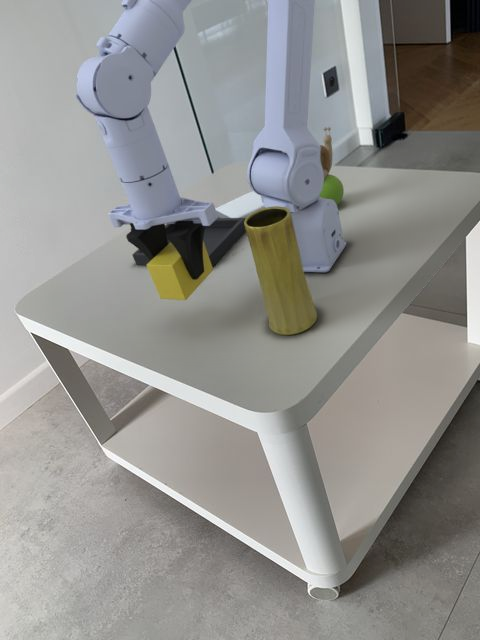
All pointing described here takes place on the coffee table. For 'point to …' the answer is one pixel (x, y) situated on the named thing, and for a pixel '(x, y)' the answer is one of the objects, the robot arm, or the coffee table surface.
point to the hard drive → (241, 206)
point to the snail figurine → (331, 183)
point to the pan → (210, 238)
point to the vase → (280, 270)
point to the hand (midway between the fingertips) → (183, 274)
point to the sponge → (175, 274)
